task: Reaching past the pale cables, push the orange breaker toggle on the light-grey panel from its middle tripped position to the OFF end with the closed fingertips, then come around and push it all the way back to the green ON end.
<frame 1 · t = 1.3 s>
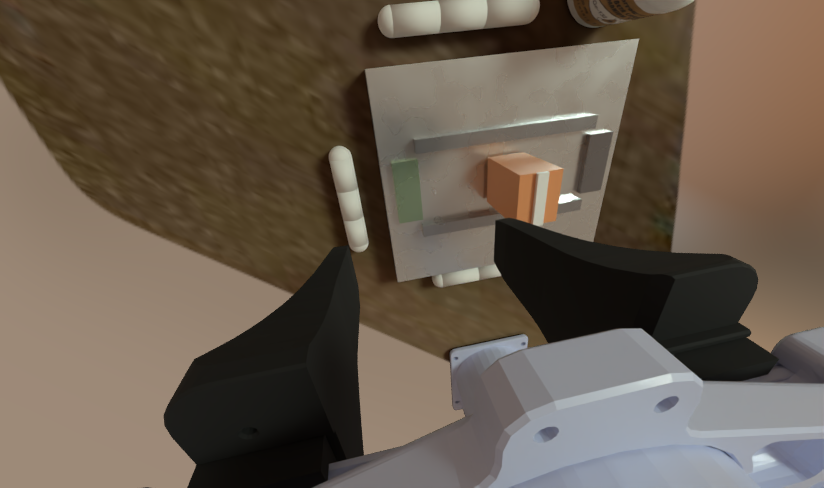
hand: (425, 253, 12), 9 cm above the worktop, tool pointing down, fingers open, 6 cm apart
breaker panel: (493, 170, 21), on the worktop
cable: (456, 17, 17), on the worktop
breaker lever: (520, 187, 18), point 4 cm above the worktop, slide at 0.0 cm
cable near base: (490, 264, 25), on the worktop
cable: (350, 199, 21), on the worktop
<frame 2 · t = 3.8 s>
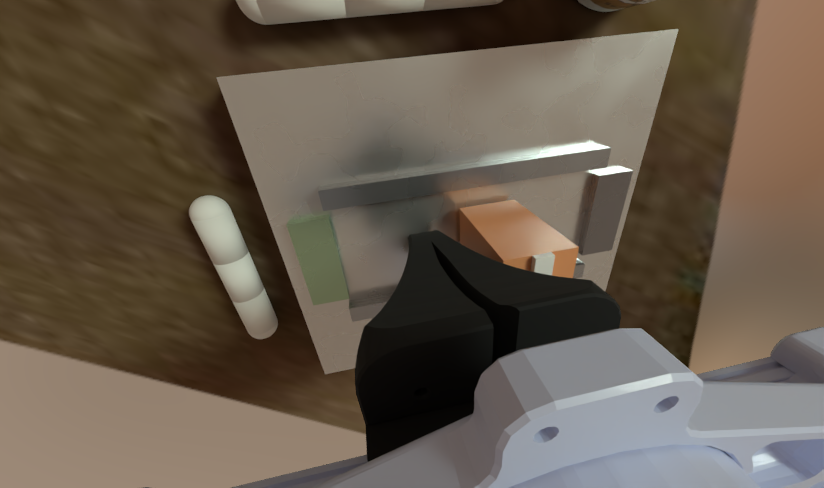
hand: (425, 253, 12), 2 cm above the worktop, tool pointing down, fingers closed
breaker panel: (457, 221, 15), on the worktop
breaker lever: (508, 261, 11), point 4 cm above the worktop, slide at -0.8 cm, touching gripper
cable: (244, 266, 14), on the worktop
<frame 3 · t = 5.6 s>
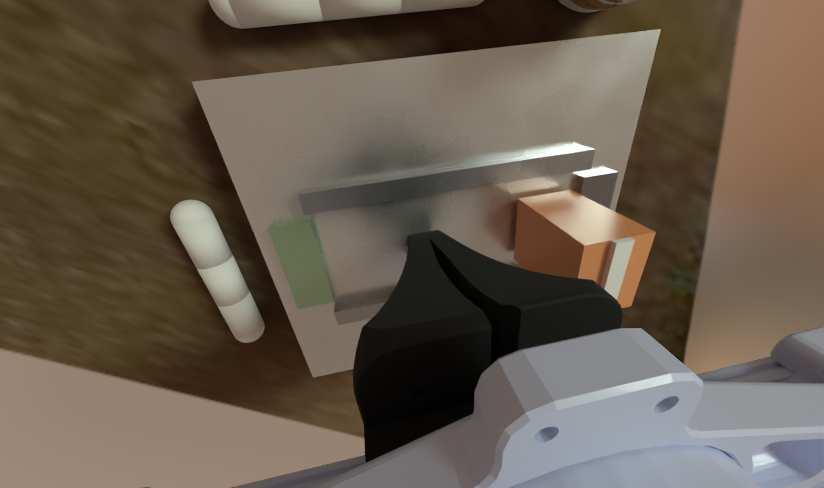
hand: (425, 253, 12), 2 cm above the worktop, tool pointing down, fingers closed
breaker panel: (443, 223, 15), on the worktop
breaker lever: (571, 249, 12), point 4 cm above the worktop, slide at -4.0 cm
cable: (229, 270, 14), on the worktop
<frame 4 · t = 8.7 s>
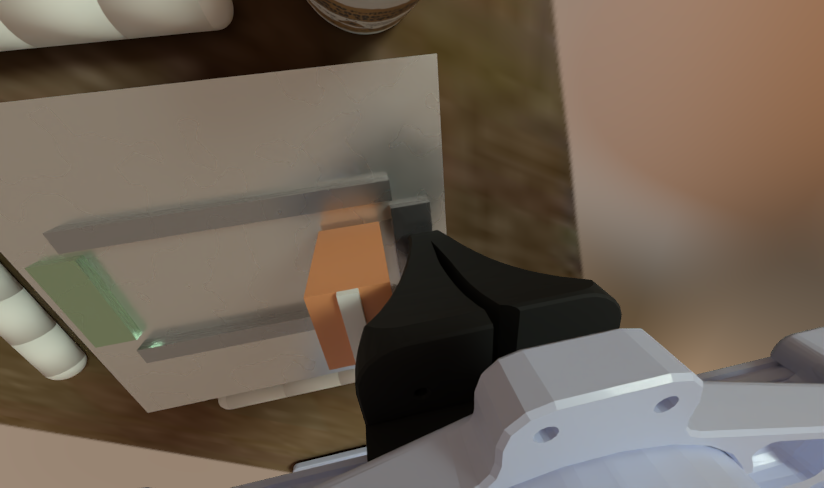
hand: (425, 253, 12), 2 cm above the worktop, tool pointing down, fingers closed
breaker panel: (270, 253, 14), on the worktop
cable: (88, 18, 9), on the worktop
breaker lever: (356, 289, 11), point 4 cm above the worktop, slide at -4.0 cm, touching gripper
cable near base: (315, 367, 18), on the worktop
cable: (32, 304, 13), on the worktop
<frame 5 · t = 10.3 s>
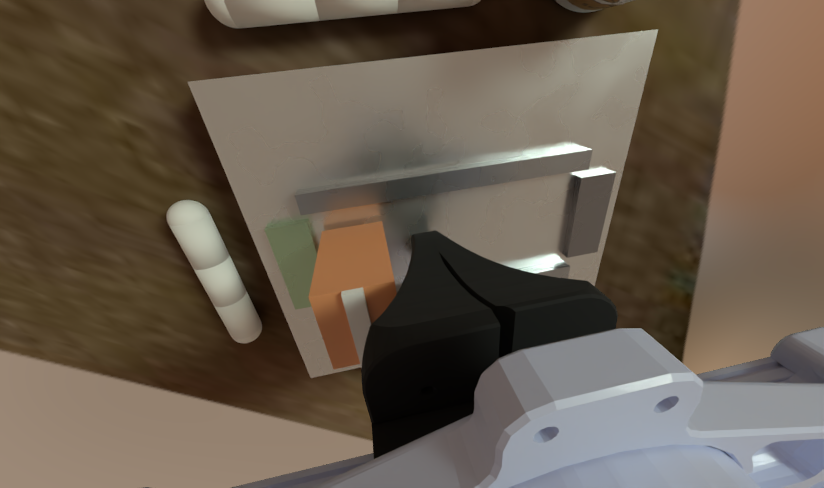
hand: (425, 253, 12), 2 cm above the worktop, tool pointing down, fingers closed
breaker panel: (441, 224, 15), on the worktop
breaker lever: (360, 288, 11), point 4 cm above the worktop, slide at 4.1 cm, touching gripper
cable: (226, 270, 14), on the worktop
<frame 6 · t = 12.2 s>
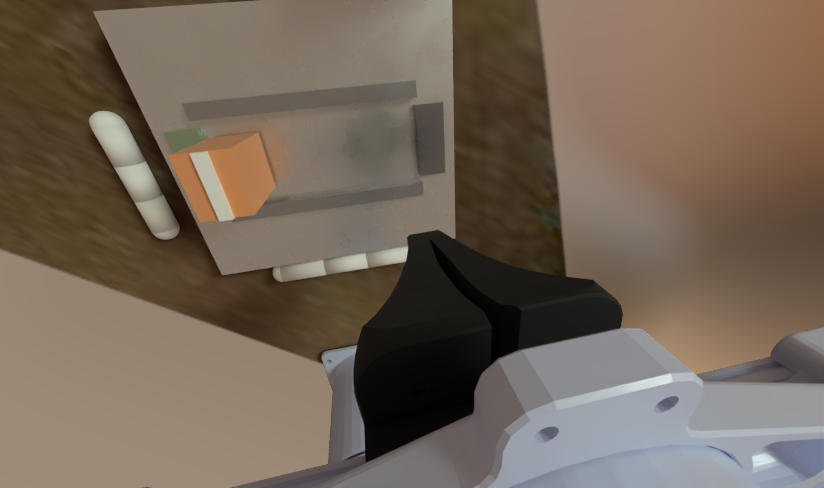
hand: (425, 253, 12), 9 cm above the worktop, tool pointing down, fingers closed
breaker panel: (321, 148, 19), on the worktop
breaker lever: (230, 174, 15), point 4 cm above the worktop, slide at 4.0 cm
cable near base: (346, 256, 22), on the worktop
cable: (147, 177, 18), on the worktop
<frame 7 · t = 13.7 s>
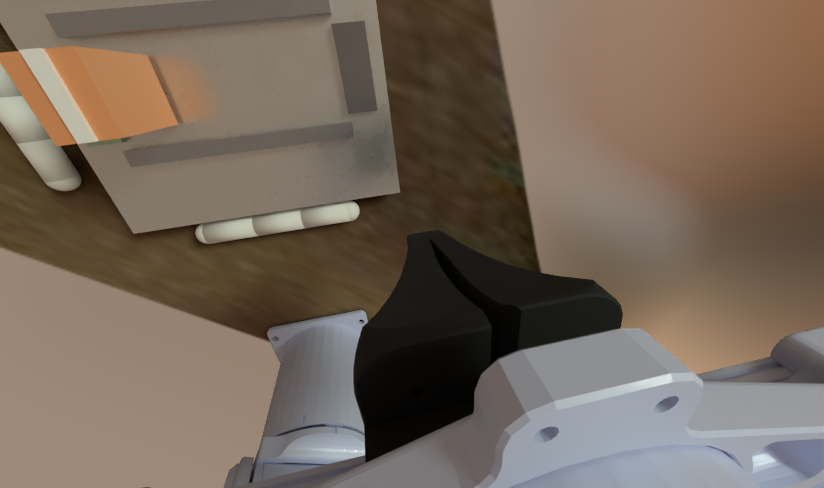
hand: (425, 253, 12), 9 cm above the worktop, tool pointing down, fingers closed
breaker panel: (236, 84, 16), on the worktop
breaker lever: (104, 96, 12), point 4 cm above the worktop, slide at 4.0 cm
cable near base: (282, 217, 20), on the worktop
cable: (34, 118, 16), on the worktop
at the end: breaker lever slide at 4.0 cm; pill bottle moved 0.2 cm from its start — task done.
